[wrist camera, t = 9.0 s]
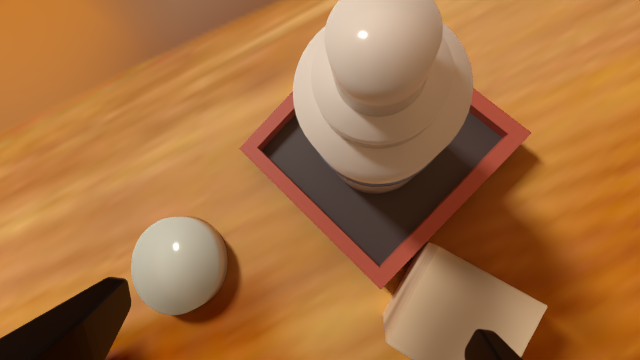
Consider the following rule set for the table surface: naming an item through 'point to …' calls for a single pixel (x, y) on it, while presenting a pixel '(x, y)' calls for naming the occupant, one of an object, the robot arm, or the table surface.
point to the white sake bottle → (382, 91)
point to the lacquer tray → (392, 207)
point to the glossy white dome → (179, 264)
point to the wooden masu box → (454, 308)
